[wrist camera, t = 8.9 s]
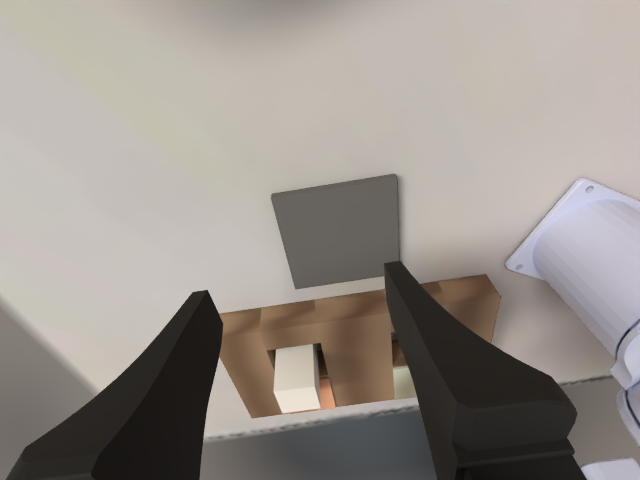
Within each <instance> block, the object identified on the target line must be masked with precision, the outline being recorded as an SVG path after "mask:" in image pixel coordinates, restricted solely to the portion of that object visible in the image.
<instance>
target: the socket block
mask: <svg viewBox="0 0 640 480" xmlns="http://www.w3.org/2000/svg"><path fill="white" fill-rule="evenodd" d="M420 285H421V286H422V287H423V288H424V289H425V290H426V291H427V292H428V293H429V294H430V295H431V296H432V297H433V298H434V299H435V300H436V301H437V302H438V303H439V304H440V305H441V306H442V307H443V308H444V309H446V310H447V311H448V312H449V313H450V314H451V315H452V316H454V317H455V318H456V319H457V320H458V321H460V322H461V323H462V324H464V325H465V326H466V327H467V328H469V329H470V330H472V331H473V332H474V333H476V334H477V335H478V336H480V337H481V338H483V339H485V340H486V341H488V342H489V343H491V341H492V336H493V332H494V327H495V322H496V317H497V313H498V308H499V303H500V298H501V296H500V295H499V293H498V292H497V290H496V289H495V287H494V286H493V284H492V283H491V281H490V280H489V278H488V277H487V275H486V274H485V275H478V276H472V277H465V278H458V279H451V280H445V281H438V282H431V283H425V284H420ZM219 315H220V317H221V320H222V322H223V334H222V344H221V350H220V355H219V357H220V358H221V360H222V362H223V364H224V366H225V368H226V370H227V372H228V374H229V376H230V378H231V379H232V381H233V383H234V385H235V387H236V389H237V391H238V393H239V395H240V397H241V398H242V400H243V402H244V404H245V406H246V408H247V410H248V412H249V414H250V416H251V418H258V417H266V416H273V415H281V414H288V413H282V411H281V409H280V406H279V404H278V402H277V399H276V397H275V394H274V376H275V359H276V349H281V348H288V347H295V346H302V345H309V344H316V343H321V347H322V351H321V352H318V368H319V385H320V403H321V408H319V409H312V410H304V411H297V412H289V413H290V414H293V413H300V412H308V411H315V410H323V409H330V408H336V407H340V406H348V405H355V404H363V403H370V402H377V401H385V400H392V399H395V400H397V399H405V398H412V397H417V395H416V391H415V387H414V383H413V380H412V377H411V374H410V371H409V368H408V366H407V363H406V360H405V357H404V355H403V352H402V349H401V347H400V344H399V341H392V342H391V333H393V332H395V330H394V328H393V325H392V322H391V318H390V314H389V310H388V305H387V301H386V289H384V290H378V291H371V292H364V293H357V294H351V295H344V296H337V297H331V298H324V299H317V300H310V301H304V302H297V303H290V304H283V305H277V306H270V307H263V308H257V309H250V310H243V311H236V312H230V313H223V314H219Z"/></svg>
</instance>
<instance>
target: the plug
mask: <svg viewBox="0 0 640 480" xmlns="http://www.w3.org/2000/svg"><path fill="white" fill-rule="evenodd" d="M274 394H275V397H276V399H277V402H278V404H279V406H280V409H281V411H282V413H289V412H297V411H304V410H312V409H319V408H321V403H320V385H319V368H318V350H317V343H316V344H309V345H302V346H295V347H288V348H281V349H276V359H275V376H274Z"/></svg>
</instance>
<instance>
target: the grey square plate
mask: <svg viewBox="0 0 640 480" xmlns="http://www.w3.org/2000/svg"><path fill="white" fill-rule="evenodd" d="M271 200H272V204H273V207H274V211H275V215H276V219H277V222H278V226H279V230H280V234H281V237H282V241H283V245H284V249H285V252H286V256H287V260H288V264H289V267H290V271H291V275H292V278H293V282H294V286H295V289H301V288H308V287H314V286H321V285H328V284H334V283H341V282H348V281H354V280H361V279H367V278H374V277H381V276H385V273H384V263H388V262H395V261H399V240H398V202H397V177H396V175H395V174H390V175H384V176H378V177H372V178H366V179H360V180H354V181H348V182H342V183H335V184H329V185H323V186H317V187H311V188H305V189H299V190H293V191H287V192H280V193H274V194H272V195H271Z"/></svg>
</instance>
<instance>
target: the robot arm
mask: <svg viewBox="0 0 640 480" xmlns="http://www.w3.org/2000/svg"><path fill="white" fill-rule="evenodd" d="M588 187H589V188H588ZM587 188H588V189H587ZM586 189H587V190H586ZM505 266H506V267H507V268H508V269H509V270H511V271H515V272H518V273H521V274H524V275H527V276H531V277H534V278H537V279H540V280H544V281H547V282H548V284H549V285H550V286H551V287H552V288H553V289H554V290H555V292H556V293H557V294H558V295H559V296H560V297H561V298H562V300H563V301H564V302H565V303H566V304H567V305H568V306H569V308H570V309H571V310H572V311H573V312H574V313H575V314H576V316H577V317H578V318H579V319H580V320H581V321H582V322H583V324H584V325H585V326H586V327H587V328H588V329H589V330H590V332H591V333H592V334H593V335H594V336H595V337H596V338H597V340H598V341H599V342H600V343H601V344H602V345H603V346H604V348H605V349H606V350H607V351H608V352H609V353H610V354H611V356H612V357H613V358H614V359H615V360H616V363H615V364H614V366H613V367H612V368H611V369H610V370H609V371H610V373H611V374H612V375H613V376H614V377H615V379H616V380H617V381H618V382H619V383H620V385H621V386H622V388H621V389H620V390H619V391H618V394H617V397H616V402H617V407H618V411H619V414H620V416H621V418H622V420H623V422H624V424H625V426H626V428H627V430H628V431H629V433H630V435H631V437H632V438H633V439H634V441H635V442H636V444H637V445H638V446H639V447H640V201H639V200H636V199H634V198H632V197H629V196H627V195H625V194H622V193H620V192H618V191H615V190H613V189H610V188H608V187H606V186H603V185H601V184H599V183H596V182H594V181H592V180H589V179H587V178H581V179H579V180H577V181H576V182H575V183H574V184H573V185H572V186H571V187H570V189H569V190H568V191H567V192H566V193H565V194H564V196H563V197H562V198H561V199H560V200H559V201H558V202H557V204H556V205H555V206H554V207H553V208H552V209H551V211H550V212H549V213H548V214H547V215H546V216H545V217H544V219H543V220H542V221H541V222H540V223H539V224H538V226H537V227H536V228H535V229H534V230H533V231H532V232H531V234H530V235H529V236H528V237H527V238H526V239H525V240H524V242H523V243H522V244H521V245H520V246H519V247H518V249H517V250H516V251H515V252H514V253H513V254H512V255H511V257H510V258H509V259H508V260H507V261H506V263H505ZM384 273H385V289H386V301H387V305H388V310H389V314H390V318H391V322H392V325H393V328H394V330H395V333H396V336H397V338H398V341H399V344H400V347H401V349H402V352H403V355H404V357H405V360H406V363H407V366H408V368H409V371H410V374H411V377H412V380H413V383H414V387H415V391H416V395H417V399H418V402H419V406H420V410H421V414H422V418H423V422H424V426H425V430H426V434H427V438H428V442H429V446H430V450H431V454H432V458H433V462H434V467H435V471H436V475H437V479H438V480H640V466H639V465H638V464H637V462H636V461H635V460H634V459H633V458H630V457H626V458H617V459H609V460H601V461H593V462H589V463H586V464H583V465H582V466H580V467H579V466H578V465H577V463H576V461H575V459H574V457H573V456H572V455H573V454H574V453H575V452H574V449H573V447H572V445H571V444H570V442H569V440H568V439H567V436H568V434H569V432H570V430H571V429H572V427H573V425H574V423H575V420H576V417H577V411H576V408H575V407H574V405H573V404H572V403H571V401H570V399H569V398H568V397H567V395H566V394H565V393H564V391H563V390H562V389H561V388H560V386H559V385H558V384H557V383H556V382H555V381H554V379H553V378H552V377H551V376H549V375H547V374H545V373H543V372H541V371H539V370H537V369H535V368H533V367H531V366H529V365H527V364H525V363H523V362H521V361H519V360H517V359H516V358H514V357H512V356H510V355H508V354H507V353H505V352H503V351H502V350H500V349H499V348H497V347H495V346H494V345H492V344H491V343H489V342H488V341H486V340H485V339H483V338H481V337H480V336H478V335H477V334H476V333H474V332H473V331H472V330H470V329H469V328H467V327H466V326H465V325H464V324H462V323H461V322H460V321H458V320H457V319H456V318H455V317H454V316H452V315H451V314H450V313H449V312H448V311H447V310H446V309H444V308H443V307H442V306H441V305H440V304H439V303H438V302H437V301H436V300H435V299H434V298H433V297H432V296H431V295H430V294H429V293H428V292H427V291H426V290H425V289H424V288H423V287H422V286H421V285H420V284H419V283H418V282H417V280H416V279H415V278H414V277H413V276H412V275H411V274H410V272H409V271H408V270H407V269H406V267H405V266H404V265H403V263H402V262H400V261H395V262H388V263H384ZM222 334H223V322H222V320H221V317H220V315H219V313H218V311H217V309H216V307H215V305H214V303H213V301H212V298H211V296H210V294H209V292H208V290H204V291H198V292H193V293H192V294H191V295H190V296H189V298H188V299H187V300H186V301H185V303H184V304H183V305H182V306H181V308H180V309H179V310H178V312H177V313H176V314H175V315H174V317H173V318H172V319H171V320H170V321H169V323H168V324H167V325H166V326H165V328H164V329H163V330H162V331H161V332H160V334H159V335H158V336H157V337H156V338H155V339H154V340H153V342H152V343H151V344H150V345H149V346H148V347H147V348H146V349H145V351H144V352H143V353H142V354H141V355H140V356H139V357H138V358H137V359H136V360H135V361H134V362H133V363H132V364H131V365H130V366H129V367H128V368H127V369H126V370H125V371H124V372H123V373H122V374H121V375H120V376H119V377H118V378H117V379H115V380H114V381H113V382H112V383H111V384H110V385H108V386H107V387H106V388H105V389H104V390H103V391H102V392H100V393H99V394H98V395H97V396H96V397H95V398H94V399H92V400H91V401H90V402H88V403H87V404H86V405H85V406H83V407H82V408H81V409H80V410H78V411H77V412H76V413H74V414H73V415H71V416H70V417H69V418H68V419H66V420H65V421H63V422H62V423H61V424H59V425H58V426H56V427H55V428H54V429H52V430H51V431H49V432H48V433H46V434H45V435H43V436H42V437H40V438H39V439H37V440H36V441H34V442H33V443H31V444H30V445H28V446H27V447H25V449H24V451H23V452H22V454H21V455H20V457H19V459H18V460H17V462H16V464H15V465H14V467H13V468H12V470H11V472H10V473H9V475H8V477H7V478H6V480H199V477H200V465H201V454H202V445H203V436H204V428H205V420H206V413H207V407H208V402H209V397H210V393H211V389H212V384H213V380H214V376H215V372H216V368H217V363H218V359H219V355H220V350H221V344H222Z"/></svg>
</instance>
